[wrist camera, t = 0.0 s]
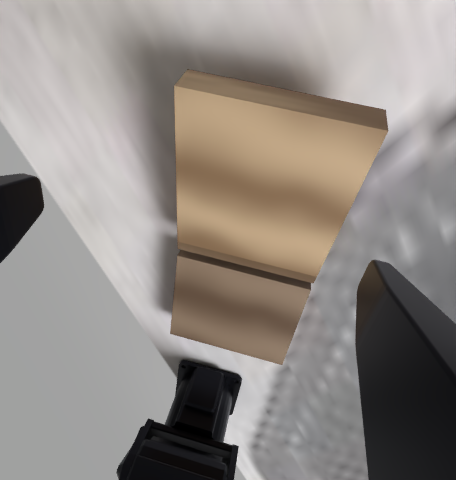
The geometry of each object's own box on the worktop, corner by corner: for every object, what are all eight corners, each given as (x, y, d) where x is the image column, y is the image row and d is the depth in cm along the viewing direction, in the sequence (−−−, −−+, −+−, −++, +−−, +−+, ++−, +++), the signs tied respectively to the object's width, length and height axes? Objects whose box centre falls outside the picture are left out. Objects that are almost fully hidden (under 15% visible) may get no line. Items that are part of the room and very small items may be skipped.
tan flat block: (283, 345, 31) (282, 364, 30) (178, 316, 32) (170, 333, 31) (311, 271, 27) (310, 290, 25) (186, 240, 28) (177, 255, 26)
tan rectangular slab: (315, 262, 26) (313, 283, 24) (186, 229, 27) (177, 248, 25) (385, 109, 17) (388, 130, 15) (187, 69, 18) (174, 85, 16)
